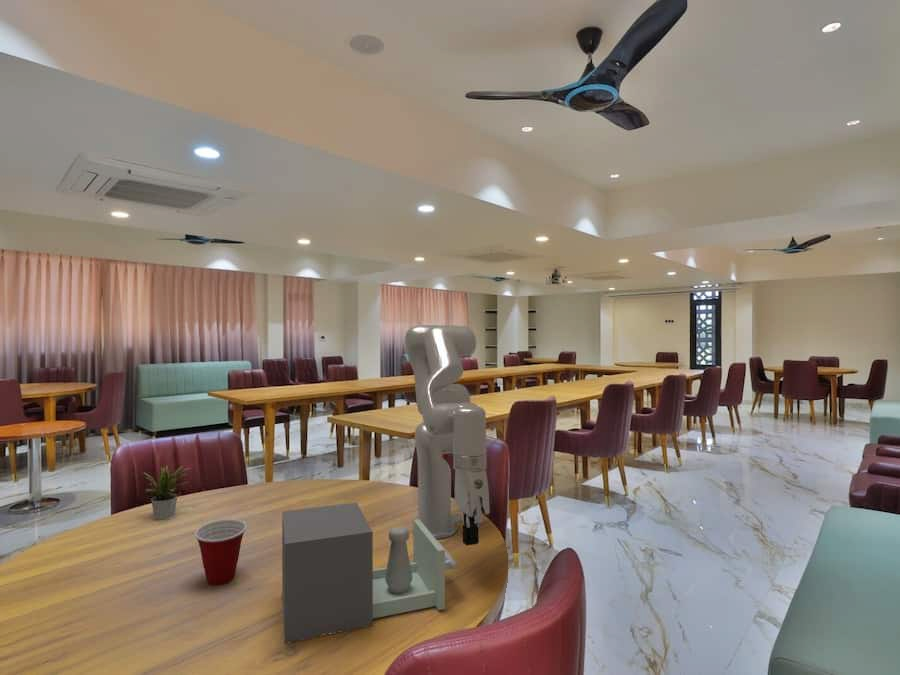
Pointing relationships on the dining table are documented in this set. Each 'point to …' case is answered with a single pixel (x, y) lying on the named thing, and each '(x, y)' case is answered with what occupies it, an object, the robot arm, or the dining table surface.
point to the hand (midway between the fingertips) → (470, 543)
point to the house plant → (164, 494)
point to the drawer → (416, 578)
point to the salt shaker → (398, 561)
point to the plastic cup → (220, 549)
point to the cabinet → (326, 571)
